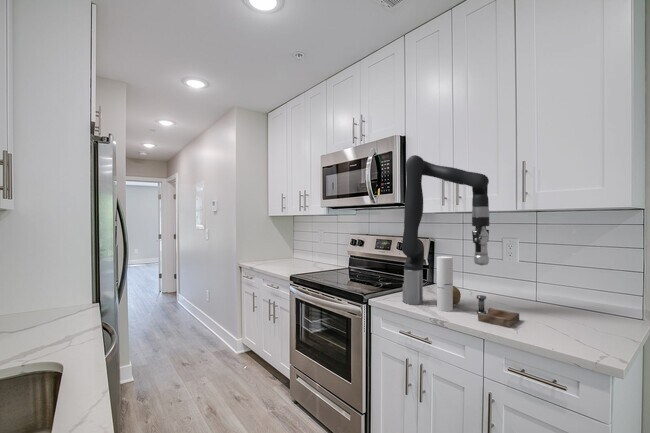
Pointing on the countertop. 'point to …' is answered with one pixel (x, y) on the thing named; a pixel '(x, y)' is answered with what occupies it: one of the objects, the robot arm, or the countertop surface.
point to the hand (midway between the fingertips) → (480, 251)
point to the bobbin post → (481, 304)
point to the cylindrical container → (445, 283)
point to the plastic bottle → (482, 249)
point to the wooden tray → (499, 317)
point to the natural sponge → (456, 295)
